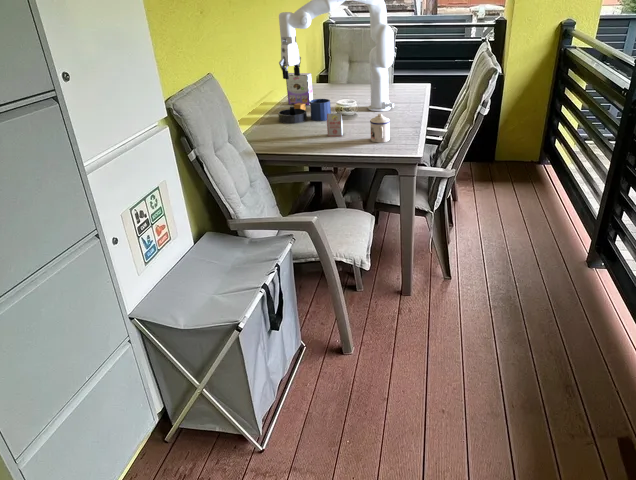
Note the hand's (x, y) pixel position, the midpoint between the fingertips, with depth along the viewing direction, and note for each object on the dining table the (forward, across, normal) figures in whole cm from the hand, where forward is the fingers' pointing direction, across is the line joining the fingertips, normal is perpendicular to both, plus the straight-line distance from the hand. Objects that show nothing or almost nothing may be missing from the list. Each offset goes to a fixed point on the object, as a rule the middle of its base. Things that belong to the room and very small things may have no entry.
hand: (291, 77), depth 274 cm
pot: (+20, +4, -14) cm, 25 cm away
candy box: (+20, +27, +15) cm, 37 cm away
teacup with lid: (+20, -19, -62) cm, 68 cm away
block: (+20, +10, +4) cm, 23 cm away
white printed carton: (+20, -20, -38) cm, 47 cm away
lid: (+19, -5, -2) cm, 20 cm away
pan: (+20, -5, -2) cm, 21 cm away
